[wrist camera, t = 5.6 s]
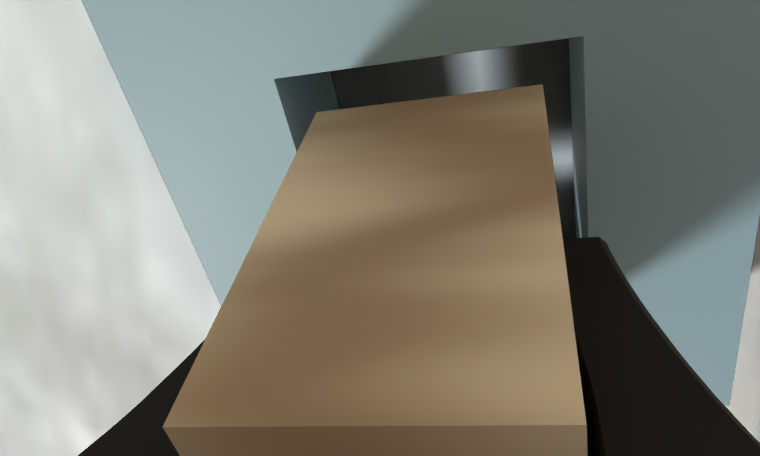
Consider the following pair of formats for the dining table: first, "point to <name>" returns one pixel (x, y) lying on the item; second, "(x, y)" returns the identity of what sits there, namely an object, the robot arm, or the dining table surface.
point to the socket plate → (459, 35)
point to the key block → (399, 296)
